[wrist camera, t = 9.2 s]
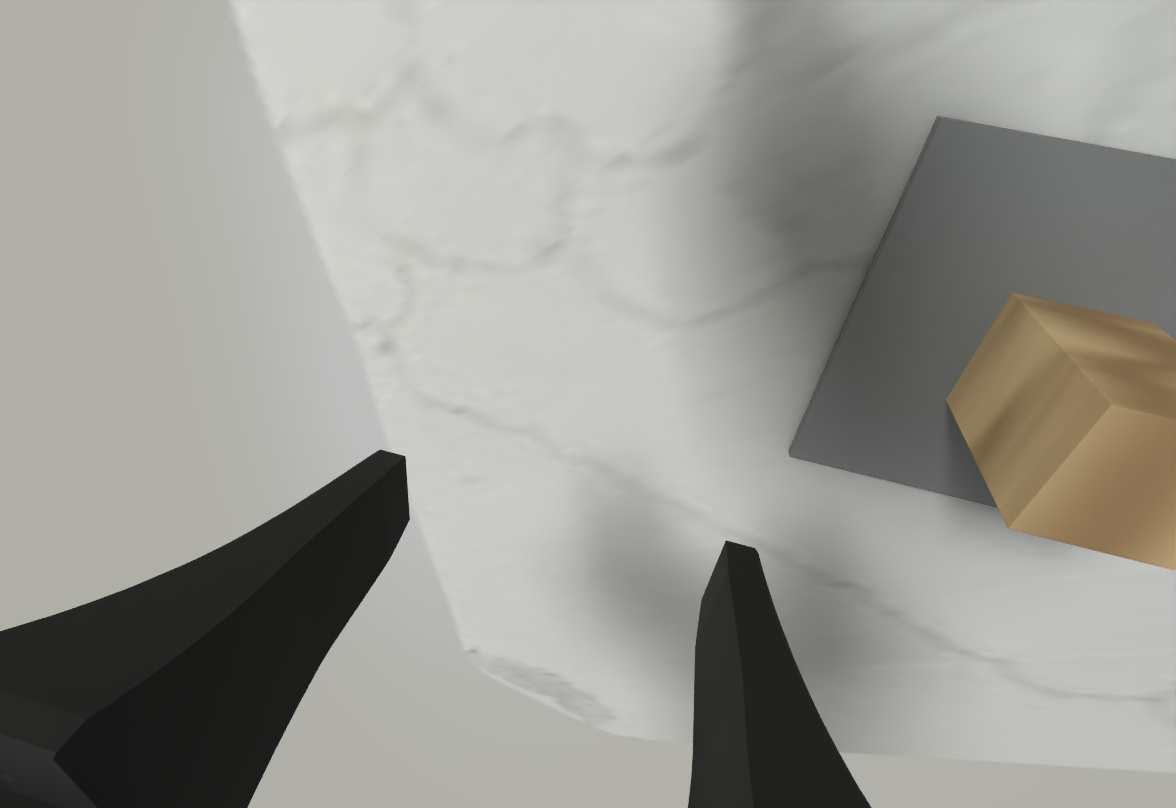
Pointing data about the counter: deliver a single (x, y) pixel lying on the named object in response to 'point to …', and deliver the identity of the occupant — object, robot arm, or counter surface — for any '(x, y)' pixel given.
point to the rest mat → (983, 288)
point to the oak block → (1076, 427)
